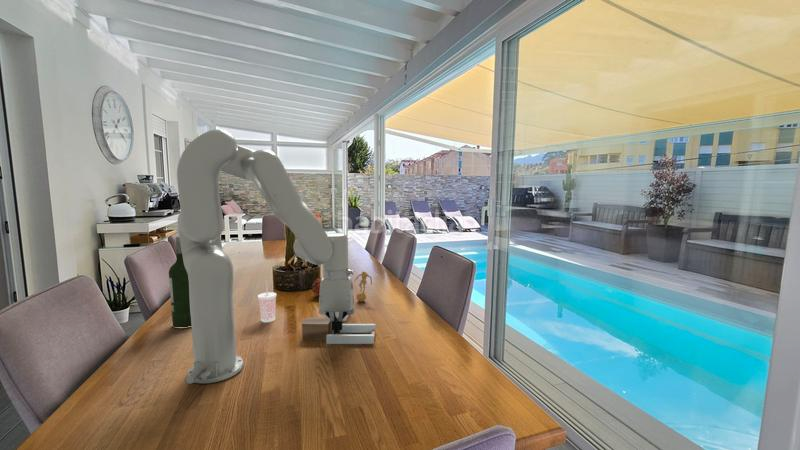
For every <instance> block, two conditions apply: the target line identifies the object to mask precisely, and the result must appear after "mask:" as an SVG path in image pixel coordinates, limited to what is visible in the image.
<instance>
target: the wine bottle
mask: <svg viewBox="0 0 800 450" xmlns="http://www.w3.org/2000/svg"><path fill="white" fill-rule="evenodd" d="M174 241H175V244H176V245H175V250H176V260H175V262H174V263H173V264H172V265H171V266H170V267H169V270H168V281H169V292H170V306H171V319H172V327H173V326H174V327H188V326H192V325H191V315H190V298H189V279H188V273H187V271H186V269H185V266H184V262H183V256H182V250H181V244H180V237H179V235H177V236H175V240H174ZM174 327H173V328H174Z"/></svg>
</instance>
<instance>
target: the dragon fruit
mask: <svg viewBox="0 0 800 450" xmlns="http://www.w3.org/2000/svg"><path fill="white" fill-rule="evenodd" d="M322 278H323V276H322V277H319V278H315V280H314V281H313V283H312V284H311V285H312V289H311V290H312V293H314V295H316V296H317V295H318V296H319V293H320V284H321V279H322Z"/></svg>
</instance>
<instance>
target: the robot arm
mask: <svg viewBox="0 0 800 450" xmlns="http://www.w3.org/2000/svg"><path fill="white" fill-rule="evenodd" d="M177 163H178V164H177V170H176V180H177V190H178V201H179V206H180V207H179V209H180V211H179V213H178V216H177V228H178V231H177V232H178V236H179V237H180V244H181V250H182V256H183V262H184V266H185V269H186V271H187V273H188V279H189V298H190V315H191V325H192V327H191V336H192V337H191V338H192V339H191V340H192V351H193V352H192V353H193V365H191V366H190V367H189V369H188V371H187V376H186V378H185V382H186V383H187V384H188V385H189V384H190V385H191V384H193V383H195V384H204V385H205V384H212V383H213V384H214V383H217V382H222V381H225V380H227V379H230V378H232V377H233V376H235V375H237V374H238V373H239V372H240V371H241V370H242V369H243V367H244V359H243V358H242V357H241V356H238V355H237V345H236V344H237V343H236V341H237V340H236V327H235V311H234V310H235V309H234V293H233V292H234V266H233V263H232V260H231V258H230V256H229V255H228V254H227V253H226V252H225V251H224V250H223V246H222V237H221V235H222V234H223V231H224V228H225V220H224V216H223V210H222V204H221V203H222V202H221V195H220V186H219V185H220V184H219V180H220V179H219V177H220V173H221V172H223V173H225V174H228V175H231V176H233V177H236V178H240V179H243V180H247V181H250V182H254V184H255V186H256V187H257V189H258V191H259V192H260V194H261V195H262V197H263V199H264V201H265V202H266V204H267V206H268V208H269V210H270V211H271V212H272V214H273V215H274V216H275V218H277V219H278V220H279V221H280V222H282V224H284V225H285V226H286V227H287V228H288V229H289V230H290V231H291V232H292V233H293V234H294V236H295V237H296V239H295V241H294V242H293V246H292V247H293V252H294V253H295V255H296V256H297V257H298V258H300V259H302V260H304V261H305V262H308V263H311V264H313V265H317V266H318V265H319V266H321V265H322V274H323V275H322V277H323V278H322V277H321V278H322V279H321V284H320V293H319V295H318V309H319V310H318V315H324V316H325V315H326V316H327V317H328V318H329V319H330V320H331V321H332V330H334V333H333V334H341V333H340V330H342V324H343V321H342V319H343V318H344V317H345V316H346V315H349V316H350V315H353V314H355V308H354V305H355V298H354V297H355V296H354V286H353V279H352V277H351V275H352V276H353V275H354V269H353V270H352V269H350V268H349V246H348V245H349V239H348V235H346V234H345V233H342V232H329V233H327V232H326V231H325V229H324V227H323V225H322V223H321V222H320V221H319V219H318V218H317V216H316V215H315V213H313V212H312V210H311V209H310V208H309V206H308V205H307V204H306V203H305V201H304V200H303V199H302V197H301V195H300V194H299V192H298V190H297V188H296V186H295V185H294V182H293V181H292V179H291V177H290V175H289V174H288V172H287V170H286V168H285V167H284V165H283V164H284V163H283V162H282V161H281V159H280V157H279V156H278V154H276V153H275V152H273V151H272V150H269V149H257V150H254V149H250V148H247V147H245V146H242V145H239V144H238V143H237V140H236V138H235V137H234V136H233V135H232V134H231V133H230V132H228V131H227V130H223V129H210V130H208V131H205V132H203V133H202V134H200V135H199V136H197V137H195V138H194V139H193V140H191V141H190V142H189V144H188V145H187V146H186V147H185V148H184V150H183V152H182V153H181V155H180V158H179V160H178V162H177ZM335 312H339V316H338V319H337V318H336V314H335Z"/></svg>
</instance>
